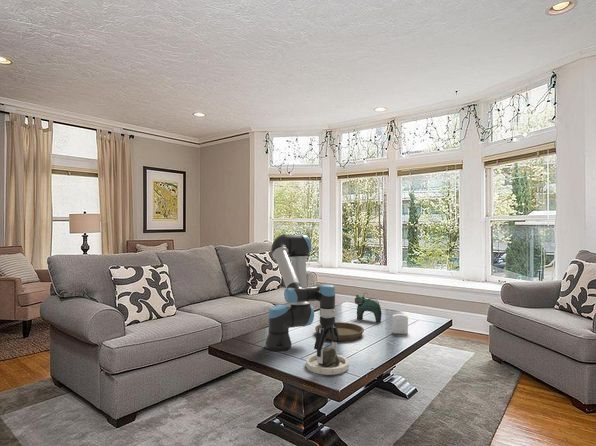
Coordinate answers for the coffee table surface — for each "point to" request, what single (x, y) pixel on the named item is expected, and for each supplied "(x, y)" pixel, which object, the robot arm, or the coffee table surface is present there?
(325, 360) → the fossil
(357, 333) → the plant saucer
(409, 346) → the coffee table surface
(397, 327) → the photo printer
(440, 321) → the coffee table surface
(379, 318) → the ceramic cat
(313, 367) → the round tray
